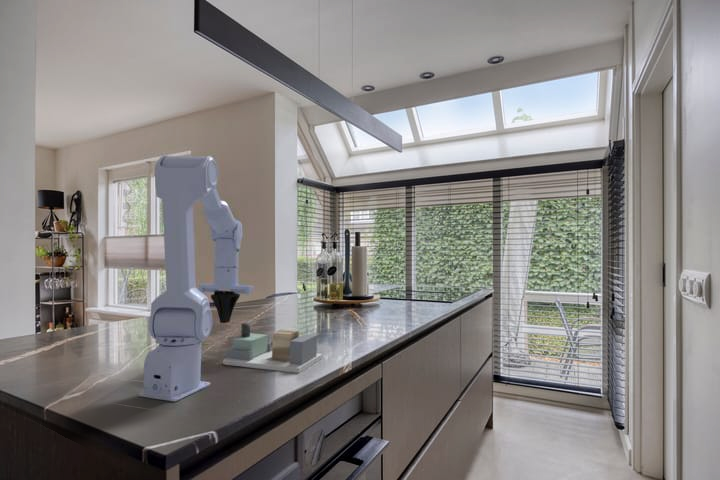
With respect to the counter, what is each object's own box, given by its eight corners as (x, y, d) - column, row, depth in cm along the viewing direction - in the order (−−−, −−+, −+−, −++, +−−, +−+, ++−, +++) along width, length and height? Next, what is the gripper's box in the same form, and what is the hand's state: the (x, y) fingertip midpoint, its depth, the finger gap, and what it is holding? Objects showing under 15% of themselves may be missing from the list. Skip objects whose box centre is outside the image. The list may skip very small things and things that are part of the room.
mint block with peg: (251, 358, 92) (252, 327, 92) (232, 356, 94) (233, 326, 94) (267, 351, 99) (267, 322, 99) (249, 349, 100) (250, 321, 100)
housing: (289, 360, 91) (290, 334, 91) (267, 358, 92) (268, 332, 92) (298, 356, 95) (298, 330, 95) (277, 353, 97) (277, 329, 97)
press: (299, 373, 85) (299, 344, 85) (223, 364, 91) (223, 337, 91) (322, 358, 98) (322, 333, 98) (254, 351, 103) (254, 327, 103)
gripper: (260, 267, 101) (259, 321, 100) (212, 266, 105) (210, 317, 105) (244, 268, 94) (243, 326, 94) (193, 266, 98) (191, 322, 98)
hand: (224, 322), depth 99 cm, fingers closed
